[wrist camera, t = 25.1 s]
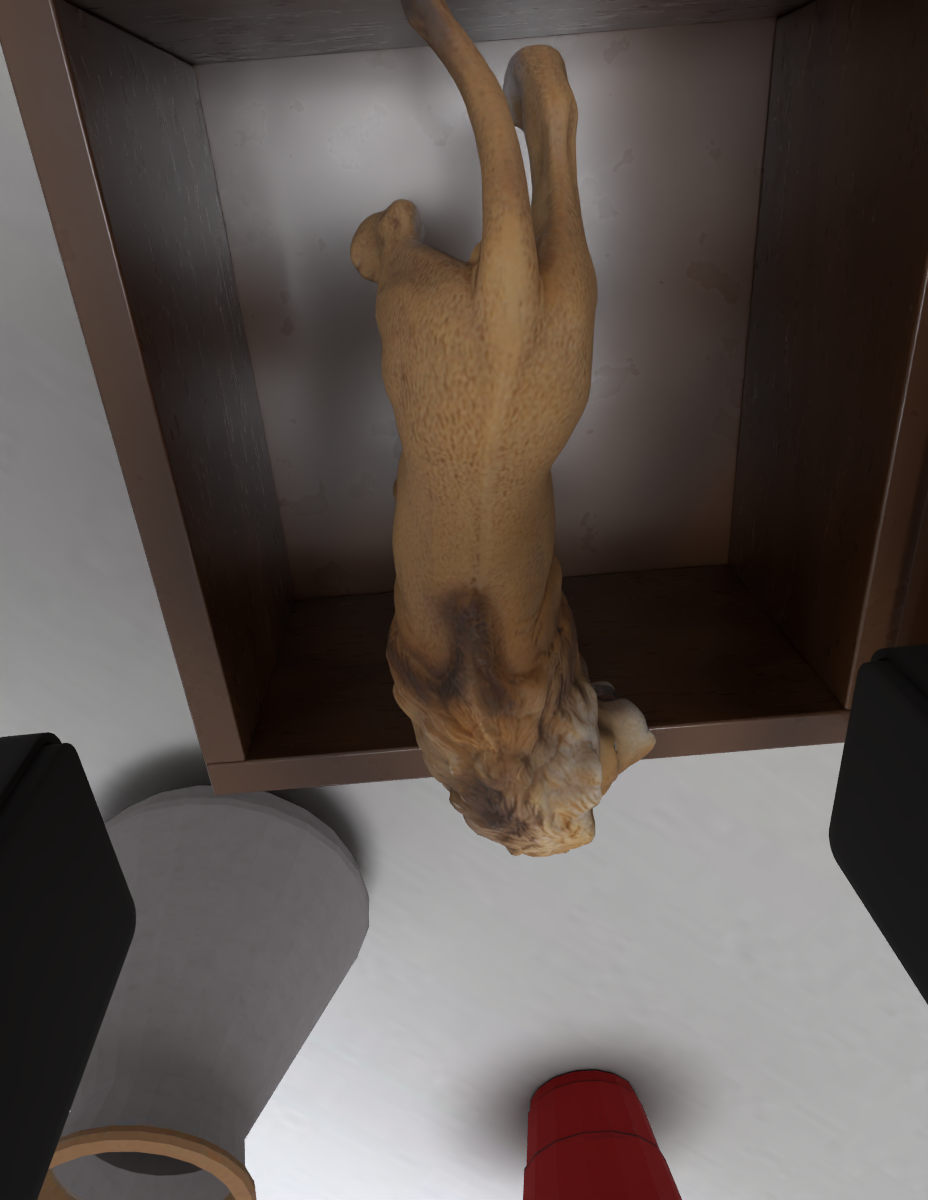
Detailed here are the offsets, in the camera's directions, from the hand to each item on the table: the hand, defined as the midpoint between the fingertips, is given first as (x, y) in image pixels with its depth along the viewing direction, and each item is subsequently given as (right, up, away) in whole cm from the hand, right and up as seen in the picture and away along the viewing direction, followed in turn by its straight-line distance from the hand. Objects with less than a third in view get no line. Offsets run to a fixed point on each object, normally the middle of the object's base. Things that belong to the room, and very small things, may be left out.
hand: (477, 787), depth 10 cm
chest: (+1, +10, +14) cm, 18 cm away
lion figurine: (0, +8, +8) cm, 11 cm away
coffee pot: (-12, -12, +26) cm, 31 cm away
